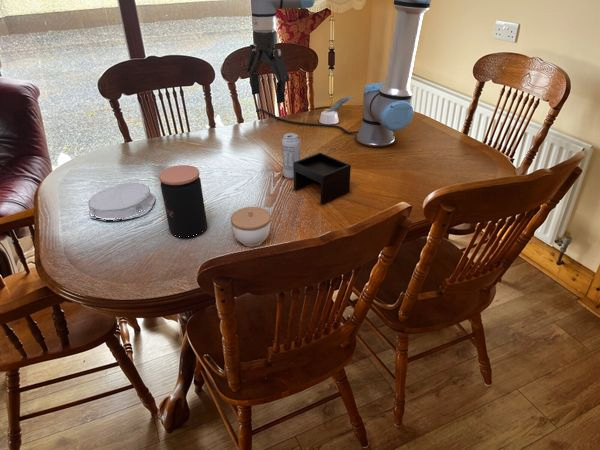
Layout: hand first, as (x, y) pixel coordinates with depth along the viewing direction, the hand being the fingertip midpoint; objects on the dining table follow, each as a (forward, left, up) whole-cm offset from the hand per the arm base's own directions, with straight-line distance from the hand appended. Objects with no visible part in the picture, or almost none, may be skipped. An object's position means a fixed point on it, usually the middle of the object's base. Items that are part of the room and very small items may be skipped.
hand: (268, 98), depth 152 cm
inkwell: (-28, +49, -25) cm, 62 cm away
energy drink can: (+12, +2, -25) cm, 28 cm away
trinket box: (+40, -28, -25) cm, 55 cm away
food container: (+1, -54, -25) cm, 59 cm away
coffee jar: (+25, -41, -25) cm, 54 cm away
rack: (+27, +4, -25) cm, 37 cm away
